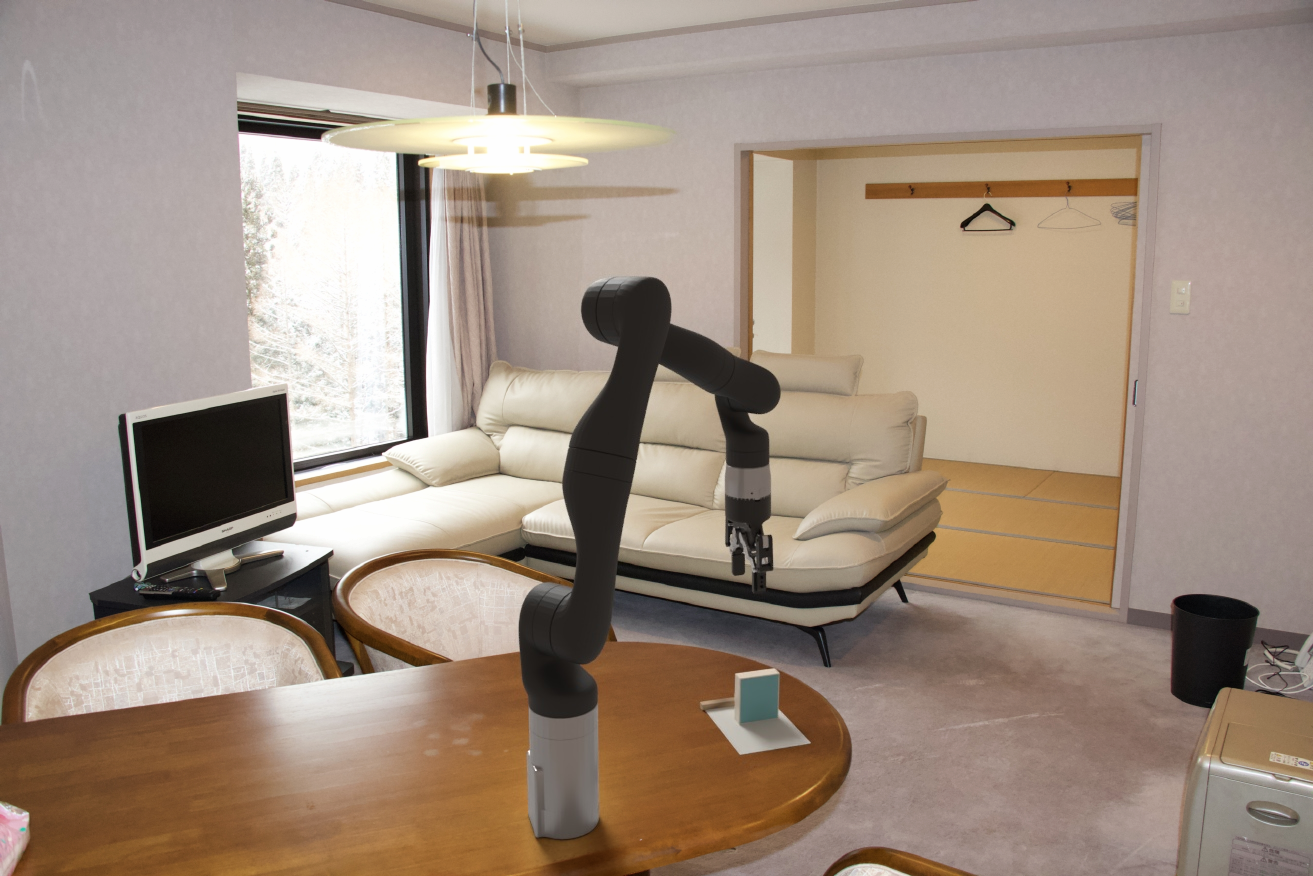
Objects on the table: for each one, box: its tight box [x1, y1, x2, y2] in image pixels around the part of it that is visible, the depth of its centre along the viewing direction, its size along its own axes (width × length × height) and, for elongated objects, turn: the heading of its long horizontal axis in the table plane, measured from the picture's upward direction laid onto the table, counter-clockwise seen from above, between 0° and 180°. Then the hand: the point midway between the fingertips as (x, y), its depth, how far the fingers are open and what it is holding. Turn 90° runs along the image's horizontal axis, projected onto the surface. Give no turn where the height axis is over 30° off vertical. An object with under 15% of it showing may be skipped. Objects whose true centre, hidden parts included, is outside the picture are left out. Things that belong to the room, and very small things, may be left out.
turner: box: [699, 693, 735, 712], centre depth 164 cm, size 12×5×1 cm, turn 107°
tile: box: [734, 668, 781, 725], centre depth 158 cm, size 7×2×8 cm, turn 107°
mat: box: [704, 706, 811, 756], centre depth 158 cm, size 12×18×1 cm, turn 17°
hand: (748, 583), depth 161 cm, fingers open, 8 cm apart
